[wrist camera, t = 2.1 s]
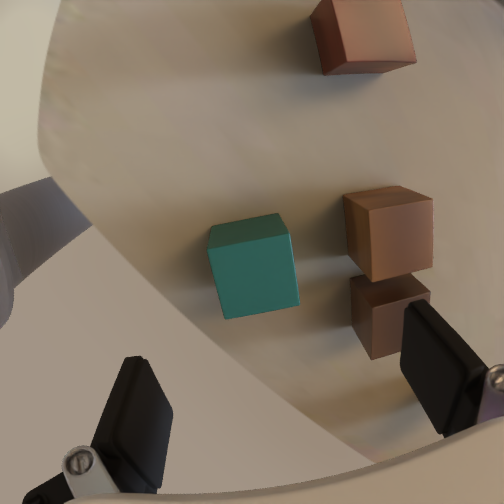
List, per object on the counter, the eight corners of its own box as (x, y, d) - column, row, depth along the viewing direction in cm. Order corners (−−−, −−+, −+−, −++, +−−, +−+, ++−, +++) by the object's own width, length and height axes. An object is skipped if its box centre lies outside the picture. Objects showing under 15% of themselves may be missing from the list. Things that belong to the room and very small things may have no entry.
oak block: (348, 255, 25) (371, 282, 20) (342, 194, 23) (368, 210, 19) (402, 244, 25) (432, 267, 20) (399, 185, 23) (433, 198, 18)
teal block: (225, 286, 25) (224, 320, 21) (211, 225, 24) (206, 249, 19) (288, 273, 25) (300, 305, 21) (278, 212, 23) (289, 232, 19)
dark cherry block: (323, 76, 20) (346, 62, 15) (309, 15, 18) (327, -10, 14) (384, 73, 20) (417, 62, 15) (370, 15, 18) (399, -6, 14)
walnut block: (351, 326, 28) (370, 360, 23) (349, 277, 26) (372, 307, 21) (400, 313, 27) (425, 343, 23) (402, 265, 26) (431, 291, 21)
